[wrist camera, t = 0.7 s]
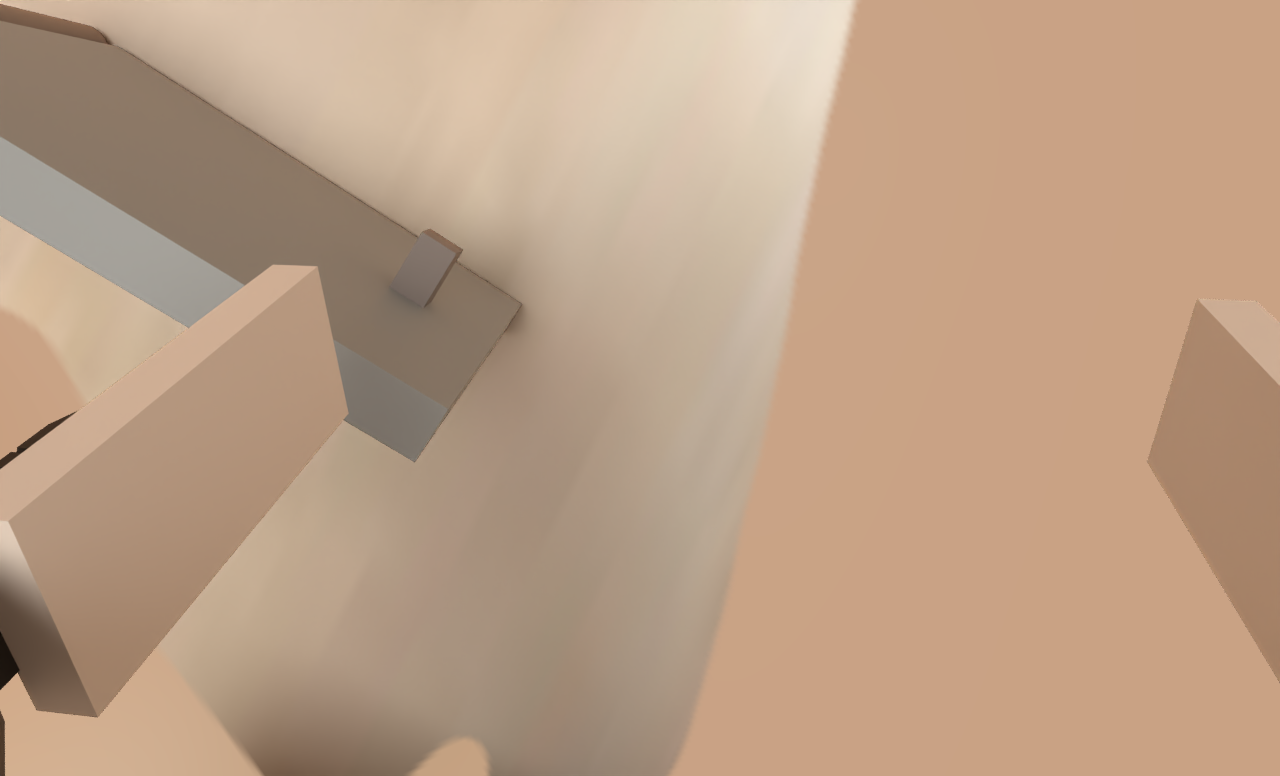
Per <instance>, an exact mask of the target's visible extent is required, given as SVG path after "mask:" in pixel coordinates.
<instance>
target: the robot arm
mask: <svg viewBox="0 0 1280 776" xmlns="http://www.w3.org/2000/svg"><path fill="white" fill-rule="evenodd" d="M348 414H349V413H348V408H347V404H346V399H345V394H344V389H343V385H342V380H341V375H340V370H339V366H338V361H337V356H336V351H335V347H334V342H333V337H332V332H331V328H330V323H329V318H328V313H327V309H326V304H325V299H324V294H323V290H322V285H321V280H320V275H319V271H318V266H297V265H272V266H270V267H269V268H268V269H266V270H265V271H264V272H262V273H261V274H260V275H258V276H257V277H256V278H254V279H253V280H252V281H250V282H249V283H248V284H246V285H245V286H244V287H242V288H241V289H240V290H238V291H237V292H236V293H234V294H233V295H232V296H230V297H229V298H228V299H226V300H225V301H224V302H222V303H221V304H220V305H218V306H217V307H216V308H214V309H213V310H212V311H210V312H209V313H208V314H206V315H205V316H204V317H202V318H201V319H200V320H198V321H197V322H196V323H194V324H193V325H192V326H190V327H189V328H188V329H186V330H185V331H184V332H182V333H181V334H180V335H178V336H177V337H176V338H174V339H173V340H172V341H170V342H169V343H168V344H166V345H165V346H164V347H163V348H161V349H160V350H159V351H157V352H156V353H155V354H153V355H152V356H151V357H149V358H148V359H147V360H145V361H144V362H143V363H141V364H140V365H139V366H137V367H136V368H135V369H133V370H132V371H131V372H129V373H128V374H127V375H125V376H124V377H123V378H121V379H120V380H119V381H117V382H116V383H115V384H113V385H112V386H111V387H109V388H108V389H107V390H105V391H104V392H103V393H101V394H100V395H99V396H97V397H96V398H95V399H93V400H92V401H91V402H89V403H88V404H87V405H85V406H84V407H83V408H81V409H80V410H78V411H76V412H74V413H72V414H70V415H68V416H66V417H63V418H61V419H59V420H57V421H55V422H53V423H51V424H48V425H47V426H46V427H44V428H43V429H42V430H40V431H39V432H38V433H36V434H35V435H34V436H32V437H31V438H29V439H28V440H27V441H25V442H24V443H23V444H21V445H20V446H18V447H17V452H10V453H9V454H8V455H6V456H5V457H4V458H2V459H1V460H0V690H1V689H2V688H3V687H4V686H5V685H6V684H7V683H8V682H9V681H10V680H11V678H12V677H13V676H14V675H15V674H16V673H17V672H18V674H19V676H20V678H21V680H22V682H23V684H24V686H25V688H26V690H27V692H28V694H29V696H30V698H31V700H32V702H33V704H34V706H35V708H36V710H38V711H47V712H55V713H64V714H73V715H82V716H90V717H98V716H99V715H100V714H101V713H102V712H103V711H104V709H105V708H106V707H107V706H108V704H109V703H110V702H111V701H112V700H113V698H114V697H115V696H116V695H117V694H118V692H119V691H120V690H121V689H122V687H123V686H124V685H125V684H126V683H127V681H128V680H129V679H130V678H131V677H132V675H133V674H134V673H135V672H136V671H137V669H138V668H139V667H140V666H141V665H142V663H143V662H144V661H145V660H146V658H147V657H148V656H149V655H150V654H151V652H152V651H153V650H154V649H155V648H156V646H157V645H158V644H159V643H160V642H161V640H162V639H163V638H164V637H165V635H166V634H167V633H168V632H169V631H170V629H171V628H172V627H173V626H174V625H175V623H176V622H177V621H178V620H179V619H180V617H181V616H182V615H183V614H184V612H185V611H186V610H187V609H188V608H189V606H190V605H191V604H192V603H193V602H194V600H195V599H196V598H197V597H198V595H199V594H200V593H201V592H202V591H203V589H204V588H205V587H206V586H207V585H208V583H209V582H210V581H211V580H212V579H213V577H214V576H215V575H216V574H217V572H218V571H219V570H220V569H221V568H222V566H223V565H224V564H225V563H226V562H227V560H228V559H229V558H230V557H231V555H232V554H233V553H234V552H235V551H236V549H237V548H238V547H239V546H240V545H241V543H242V542H243V541H244V540H245V539H246V537H247V536H248V535H249V534H250V532H251V531H252V530H253V529H254V528H255V526H256V525H257V524H258V523H259V522H260V520H261V519H262V518H263V517H264V515H265V514H266V513H267V512H268V511H269V509H270V508H271V507H272V506H273V505H274V503H275V502H276V501H277V500H278V499H279V497H280V496H281V495H282V494H283V492H284V491H285V490H286V489H287V488H288V486H289V485H290V484H291V483H292V482H293V480H294V479H295V478H296V477H297V475H298V474H299V473H300V472H301V471H302V469H303V468H304V467H305V466H306V465H307V463H308V462H309V461H310V460H311V459H312V457H313V456H314V455H315V454H316V452H317V451H318V450H319V449H320V448H321V446H322V445H323V444H324V443H325V442H326V440H327V439H328V438H329V437H330V435H331V434H332V433H333V432H334V431H335V429H336V428H337V427H338V426H339V425H340V423H341V422H342V421H343V420H344V419H345V417H346V416H347V415H348ZM1147 463H1148V464H1149V466H1150V468H1151V469H1152V471H1153V473H1154V474H1155V476H1156V477H1157V479H1158V481H1159V483H1160V484H1161V486H1162V488H1163V489H1164V491H1165V493H1166V494H1167V496H1168V498H1169V499H1170V501H1171V503H1172V504H1173V506H1174V507H1175V509H1176V511H1177V513H1178V514H1179V516H1180V518H1181V519H1182V521H1183V523H1184V524H1185V526H1186V528H1187V529H1188V531H1189V532H1190V534H1191V536H1192V537H1193V539H1194V541H1195V543H1196V544H1197V546H1198V547H1199V549H1200V551H1201V552H1202V554H1203V556H1204V558H1205V559H1206V561H1207V563H1208V564H1209V566H1210V567H1211V569H1212V571H1213V572H1214V574H1215V576H1216V578H1217V579H1218V581H1219V583H1220V584H1221V586H1222V587H1223V589H1224V591H1225V593H1226V594H1227V596H1228V597H1229V599H1230V601H1231V602H1232V604H1233V606H1234V607H1235V609H1236V611H1237V612H1238V614H1239V616H1240V617H1241V619H1242V621H1243V622H1244V624H1245V626H1246V627H1247V629H1248V631H1249V632H1250V634H1251V636H1252V637H1253V639H1254V641H1255V642H1256V644H1257V646H1258V647H1259V649H1260V651H1261V652H1262V654H1263V656H1264V657H1265V659H1266V661H1267V662H1268V664H1269V666H1270V667H1271V669H1272V671H1273V672H1274V674H1275V676H1276V677H1277V679H1278V681H1279V682H1280V322H1278V321H1277V320H1276V319H1275V318H1274V317H1273V316H1272V315H1271V314H1270V313H1269V312H1268V311H1267V310H1265V309H1264V308H1263V307H1262V306H1261V305H1260V304H1259V303H1258V302H1257V301H1246V300H1245V301H1244V300H1220V299H1218V300H1217V299H1197V300H1196V304H1195V307H1194V310H1193V313H1192V317H1191V320H1190V323H1189V326H1188V330H1187V333H1186V336H1185V339H1184V343H1183V346H1182V349H1181V353H1180V356H1179V359H1178V362H1177V366H1176V369H1175V372H1174V375H1173V379H1172V382H1171V385H1170V389H1169V392H1168V395H1167V398H1166V402H1165V405H1164V408H1163V411H1162V415H1161V418H1160V421H1159V424H1158V428H1157V431H1156V434H1155V438H1154V441H1153V444H1152V448H1151V451H1150V454H1149V457H1148V460H1147ZM0 776H5V721H4V719H3V716H2V714H1V711H0Z"/></svg>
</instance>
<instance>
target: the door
mask: <svg viewBox="0 0 1280 776" xmlns="http://www.w3.org/2000/svg"><path fill="white" fill-rule="evenodd" d="M0 216H1V217H3V218H5V219H6V220H8V221H10V222H12V223H13V224H15V225H17V226H18V227H20V228H22V229H23V230H25V231H27V232H28V233H30V234H32V235H33V236H35V237H37V238H38V239H40V240H42V241H43V242H45V243H47V244H48V245H50V246H52V247H54V248H55V249H57V250H59V251H60V252H62V253H64V254H65V255H67V256H69V257H70V258H72V259H74V260H75V261H77V262H79V263H80V264H82V265H84V266H85V267H87V268H89V269H91V270H92V271H94V272H96V273H97V274H99V275H101V276H102V277H104V278H106V279H107V280H109V281H111V282H112V283H114V284H116V285H117V286H119V287H121V288H122V289H124V290H126V291H128V292H129V293H131V294H133V295H134V296H136V297H138V298H139V299H141V300H143V301H144V302H146V303H148V304H149V305H151V306H153V307H154V308H156V309H158V310H159V311H161V312H163V313H164V314H166V315H168V316H170V317H171V318H173V319H175V320H176V321H178V322H180V323H181V324H183V325H185V326H186V327H188V328H189V327H190V326H192V325H193V324H194V323H196V322H197V321H198V320H200V319H201V318H202V317H204V316H205V315H206V314H208V313H209V312H210V311H212V310H213V309H214V308H216V307H217V306H218V305H220V304H221V303H222V302H224V301H225V300H226V299H228V298H229V297H230V296H232V295H233V294H234V293H236V292H237V291H238V290H240V289H241V288H242V287H244V286H245V285H246V284H248V283H249V282H250V281H252V280H253V279H254V278H256V277H257V276H258V275H260V274H261V273H262V272H264V271H265V270H266V269H268V268H269V267H270V266H272V265H297V266H318V271H319V275H320V280H321V285H322V290H323V294H324V299H325V304H326V309H327V313H328V318H329V323H330V328H331V332H332V337H333V342H334V347H335V351H336V356H337V361H338V366H339V370H340V375H341V380H342V385H343V389H344V394H345V399H346V404H347V408H348V413H349V414H348V415H347V416H346V417H345V419H344V421H346V422H348V423H349V424H351V425H353V426H354V427H356V428H358V429H359V430H361V431H363V432H365V433H366V434H368V435H370V436H371V437H373V438H375V439H376V440H378V441H380V442H381V443H383V444H385V445H386V446H388V447H390V448H391V449H393V450H395V451H396V452H398V453H400V454H402V455H403V456H405V457H407V458H408V459H410V460H412V461H413V462H415V461H416V460H417V458H418V457H419V455H420V454H421V453H422V451H423V450H424V448H425V447H426V445H427V444H428V442H429V441H430V439H431V438H432V437H433V435H434V434H435V432H436V431H437V429H438V428H439V426H440V425H441V423H442V422H443V421H444V419H445V418H446V416H447V415H448V413H449V412H450V410H451V409H452V407H453V406H454V405H455V403H456V402H457V400H458V399H459V397H460V396H461V394H462V393H463V391H464V390H465V389H466V387H467V386H468V384H469V383H470V381H471V380H472V378H473V377H474V375H475V374H476V373H477V371H478V370H479V368H480V367H481V365H482V364H483V362H484V361H485V359H486V358H487V357H488V355H489V354H490V352H491V351H492V349H493V348H494V346H495V345H496V343H497V342H498V341H499V339H500V338H501V336H502V335H503V333H504V331H505V330H506V328H507V327H508V325H509V324H510V322H511V320H512V319H513V317H514V316H515V314H516V313H517V311H518V309H519V308H520V306H521V305H522V304H521V303H519V302H518V301H516V300H515V299H513V298H512V297H510V296H508V295H507V294H505V293H504V292H502V291H501V290H499V289H497V288H496V287H494V286H493V285H491V284H490V283H488V282H487V281H485V280H483V279H482V278H480V277H479V276H477V275H476V274H474V273H472V272H471V271H469V270H468V269H466V268H465V267H463V266H461V265H460V264H458V263H457V262H456V261H457V259H458V257H459V256H460V254H461V252H462V251H463V249H461V248H460V247H458V246H456V245H455V244H453V243H452V242H450V241H449V240H447V239H445V238H444V237H442V236H441V235H439V234H438V233H436V232H435V231H433V230H431V229H428V230H426V231H423V232H422V233H421V234H420V236H419V238H418V237H416V236H414V235H413V234H411V233H410V232H408V231H407V230H405V229H403V228H402V227H400V226H399V225H397V224H396V223H394V222H392V221H391V220H389V219H388V218H386V217H385V216H383V215H381V214H380V213H378V212H377V211H375V210H374V209H372V208H371V207H369V206H367V205H366V204H364V203H363V202H361V201H360V200H358V199H356V198H355V197H353V196H352V195H350V194H349V193H347V192H345V191H344V190H342V189H341V188H339V187H338V186H336V185H334V184H333V183H331V182H330V181H328V180H327V179H325V178H324V177H322V176H320V175H319V174H317V173H316V172H314V171H313V170H311V169H309V168H308V167H306V166H305V165H303V164H302V163H300V162H298V161H297V160H295V159H294V158H292V157H291V156H289V155H287V154H286V153H284V152H283V151H281V150H280V149H278V148H276V147H275V146H273V145H272V144H270V143H269V142H267V141H266V140H264V139H262V138H261V137H259V136H258V135H256V134H255V133H253V132H251V131H250V130H248V129H247V128H245V127H244V126H242V125H240V124H239V123H237V122H236V121H234V120H233V119H231V118H229V117H228V116H226V115H225V114H223V113H222V112H220V111H218V110H217V109H215V108H214V107H212V106H211V105H209V104H208V103H206V102H204V101H203V100H201V99H200V98H198V97H197V96H195V95H193V94H192V93H190V92H189V91H187V90H186V89H184V88H182V87H181V86H179V85H178V84H176V83H175V82H173V81H171V80H170V79H168V78H167V77H165V76H164V75H162V74H160V73H159V72H157V71H156V70H154V69H153V68H151V67H150V66H148V65H146V64H145V63H143V62H142V61H140V60H139V59H137V58H135V57H134V56H132V55H131V54H129V53H128V52H126V51H124V50H123V49H121V48H120V47H118V46H113V45H109V44H107V42H106V40H105V38H104V37H103V35H102V34H101V33H100V32H99V31H98V30H96V29H95V28H93V27H91V26H88V25H84V24H80V23H76V22H72V21H68V20H64V19H59V18H55V17H51V16H47V15H43V14H39V13H35V12H31V11H27V10H23V9H19V8H15V7H11V6H7V5H3V4H0Z"/></svg>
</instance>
